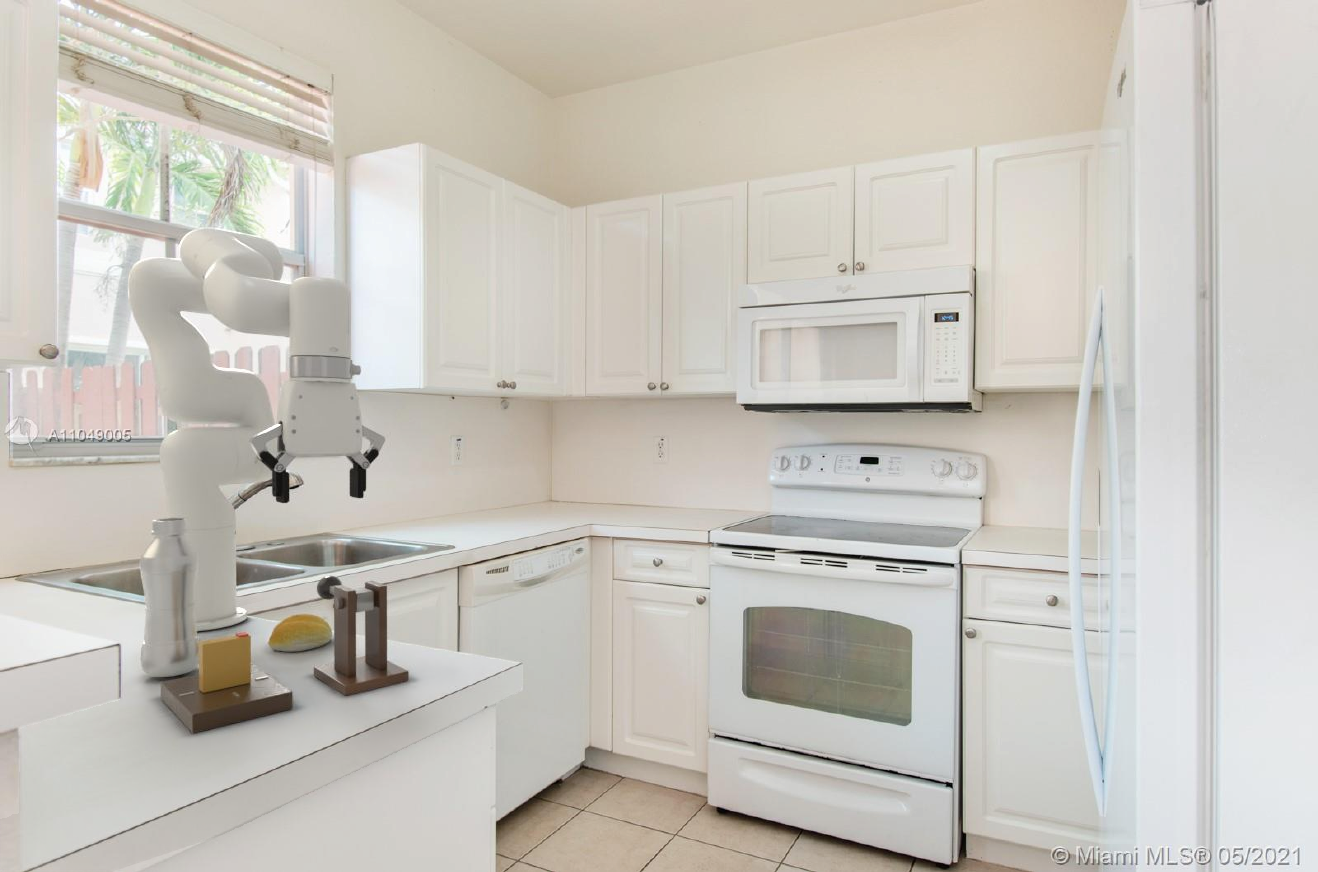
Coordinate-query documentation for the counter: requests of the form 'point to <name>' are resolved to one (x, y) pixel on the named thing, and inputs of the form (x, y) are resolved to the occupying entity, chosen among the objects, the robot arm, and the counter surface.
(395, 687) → the counter surface
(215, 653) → the lock knob
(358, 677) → the handle bracket
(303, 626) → the bread roll
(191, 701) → the plate
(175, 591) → the plastic bottle
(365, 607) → the door lever
